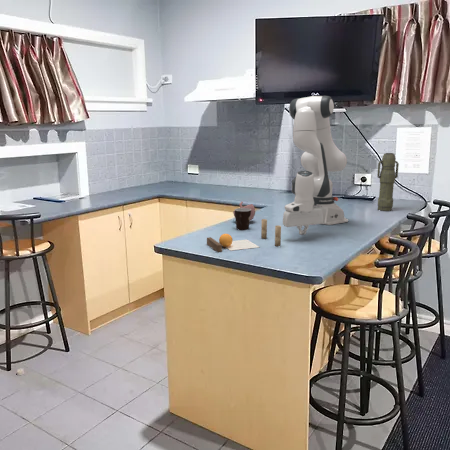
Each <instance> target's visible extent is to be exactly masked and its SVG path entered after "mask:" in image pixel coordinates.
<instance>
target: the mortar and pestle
mask: <svg viewBox="0 0 450 450" xmlns="http://www.w3.org/2000/svg"><path fill="white" fill-rule="evenodd" d="M243 204H244V201H240V202H239V208H248V209H251V215H250V222H251V221H252V220H253V219H254V217H255V215H256V207H255V205H254V204H252V203H251V204H247V205H245V206H243ZM232 214H233V216H234V217H235V210H234V211H233V212H232Z"/></svg>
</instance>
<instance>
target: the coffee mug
mask: <svg viewBox="0 0 450 450" xmlns="http://www.w3.org/2000/svg"><path fill="white" fill-rule="evenodd" d="M234 211H235V216H234V218H235V227H236V230H238V229H239V230H238V231H246V230H247V231H248V230H250V222H251V221H250V215H251V209H248V208H240V207H237V208H235V209H234Z"/></svg>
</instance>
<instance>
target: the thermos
mask: <svg viewBox="0 0 450 450" xmlns="http://www.w3.org/2000/svg"><path fill="white" fill-rule="evenodd" d="M395 155H396V154H395V153H393V152H384V154H383V155H382V158H381V160H379V162H378V165H377V173H376V174H377V179H379V183H380V184H379V194H378V198H377V211H379V210H380V212H392V211H393V207H394V197H393V195H394V186H395V185H394V184H395V182H396V179H397V178H398V175H399V165H400V164H399V162H398V161H397V160H396V156H395Z"/></svg>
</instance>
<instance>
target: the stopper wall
mask: <svg viewBox="0 0 450 450" xmlns="http://www.w3.org/2000/svg"><path fill="white" fill-rule="evenodd" d="M206 245H208V246H209V247H210V248H211V249H212V250H214V251H215V252H217V253H222V252H223V246H222V245H221V244H220V243H219V241H217V240H215V239H214V238H213V237H211V236H208V237H206Z"/></svg>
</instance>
